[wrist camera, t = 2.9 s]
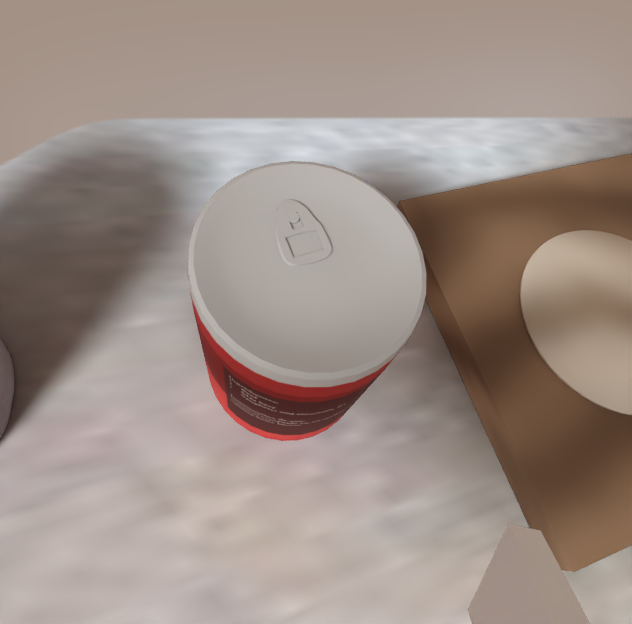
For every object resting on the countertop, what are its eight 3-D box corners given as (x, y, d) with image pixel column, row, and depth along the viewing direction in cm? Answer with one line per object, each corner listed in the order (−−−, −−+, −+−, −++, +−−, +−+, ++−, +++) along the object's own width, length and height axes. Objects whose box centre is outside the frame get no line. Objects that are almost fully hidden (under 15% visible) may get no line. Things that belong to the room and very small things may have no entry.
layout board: (810, 449, 27) (854, 442, 25) (548, 568, 23) (577, 571, 21) (619, 171, 34) (642, 149, 32) (390, 221, 30) (400, 198, 28)
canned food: (299, 273, 27) (331, 127, 18) (387, 387, 25) (480, 296, 15) (177, 343, 25) (135, 218, 15) (264, 476, 23) (282, 436, 13)
